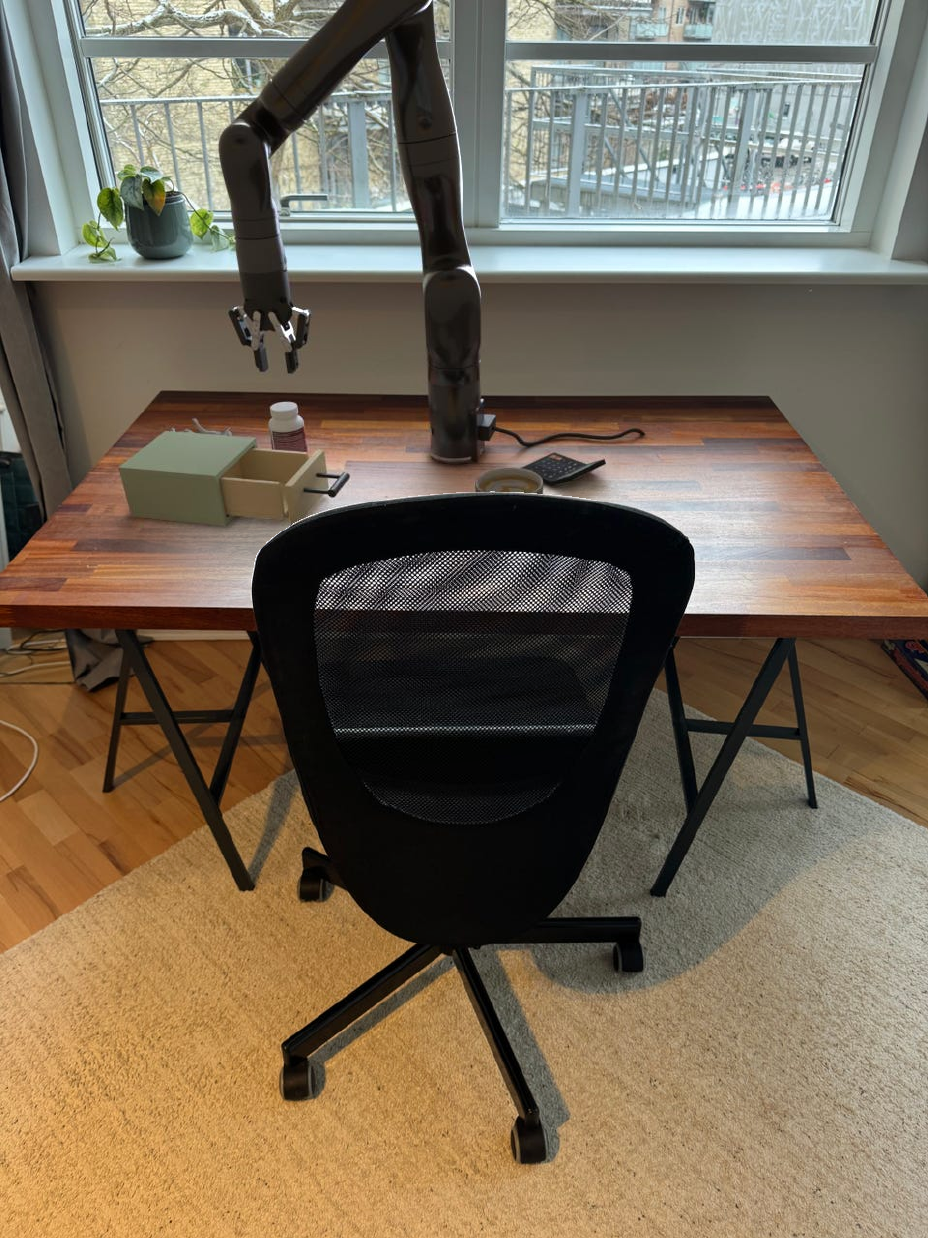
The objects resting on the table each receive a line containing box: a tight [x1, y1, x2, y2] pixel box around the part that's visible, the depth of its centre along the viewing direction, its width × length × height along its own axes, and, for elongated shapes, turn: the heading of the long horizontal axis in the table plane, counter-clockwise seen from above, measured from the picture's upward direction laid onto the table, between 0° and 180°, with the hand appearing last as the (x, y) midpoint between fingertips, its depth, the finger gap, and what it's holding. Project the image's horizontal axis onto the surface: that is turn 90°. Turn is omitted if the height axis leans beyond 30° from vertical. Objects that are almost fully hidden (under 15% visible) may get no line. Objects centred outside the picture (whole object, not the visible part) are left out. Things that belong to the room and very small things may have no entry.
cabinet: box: [117, 430, 259, 527], centre depth 146 cm, size 17×15×9 cm
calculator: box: [521, 452, 607, 487], centre depth 152 cm, size 9×12×3 cm
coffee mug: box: [474, 467, 544, 495], centre depth 133 cm, size 13×10×10 cm
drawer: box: [219, 448, 351, 526], centre depth 143 cm, size 21×14×7 cm, turn 76°
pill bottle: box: [267, 401, 310, 459], centre depth 156 cm, size 6×6×11 cm
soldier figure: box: [170, 417, 233, 436], centre depth 166 cm, size 8×5×12 cm
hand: (278, 370), depth 149 cm, fingers open, 4 cm apart
